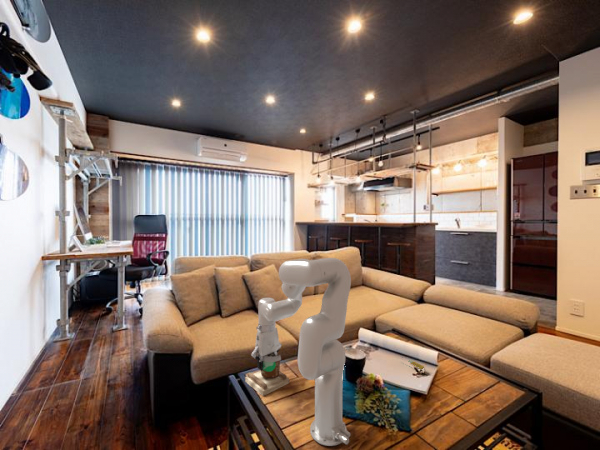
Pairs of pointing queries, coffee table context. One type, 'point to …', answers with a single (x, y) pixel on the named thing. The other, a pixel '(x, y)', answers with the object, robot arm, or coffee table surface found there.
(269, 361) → the food container
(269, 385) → the base plate
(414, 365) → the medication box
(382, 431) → the coffee table surface
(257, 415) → the coffee table surface
